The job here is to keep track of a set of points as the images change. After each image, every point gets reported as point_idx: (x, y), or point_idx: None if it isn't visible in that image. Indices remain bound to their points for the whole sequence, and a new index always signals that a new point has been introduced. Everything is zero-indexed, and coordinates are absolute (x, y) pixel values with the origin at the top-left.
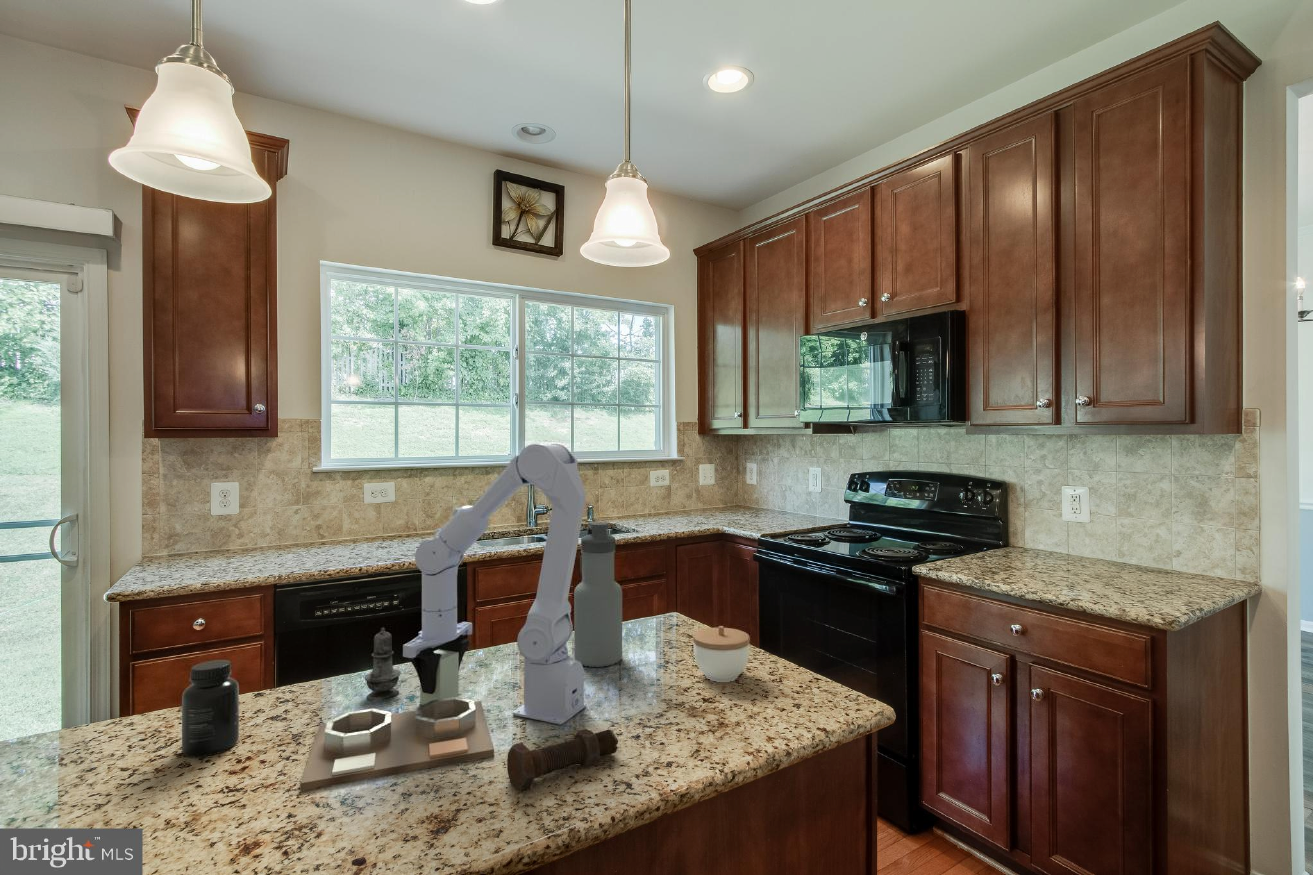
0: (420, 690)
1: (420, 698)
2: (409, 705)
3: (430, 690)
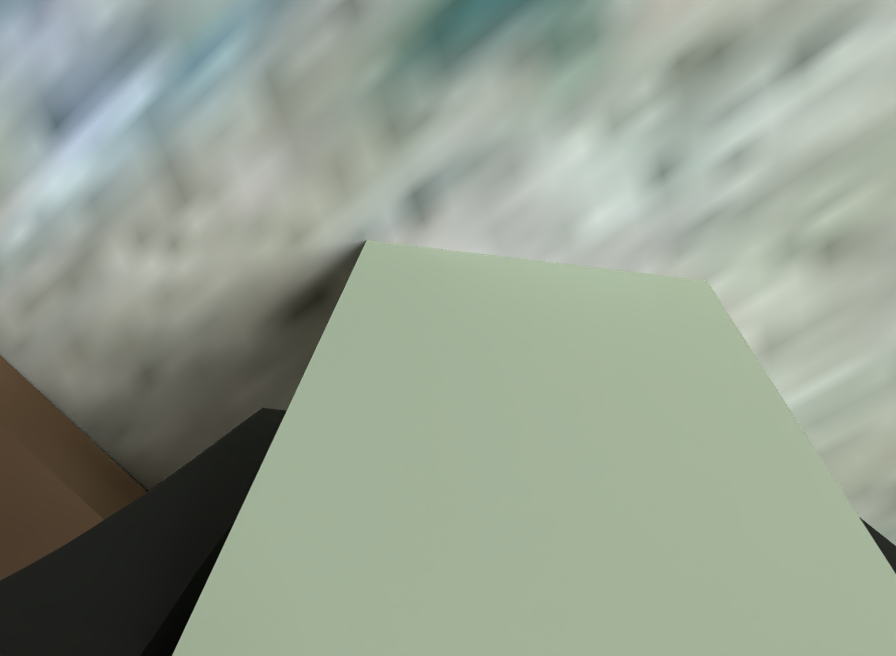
0: (332, 314)
1: (354, 269)
2: (279, 132)
3: None
